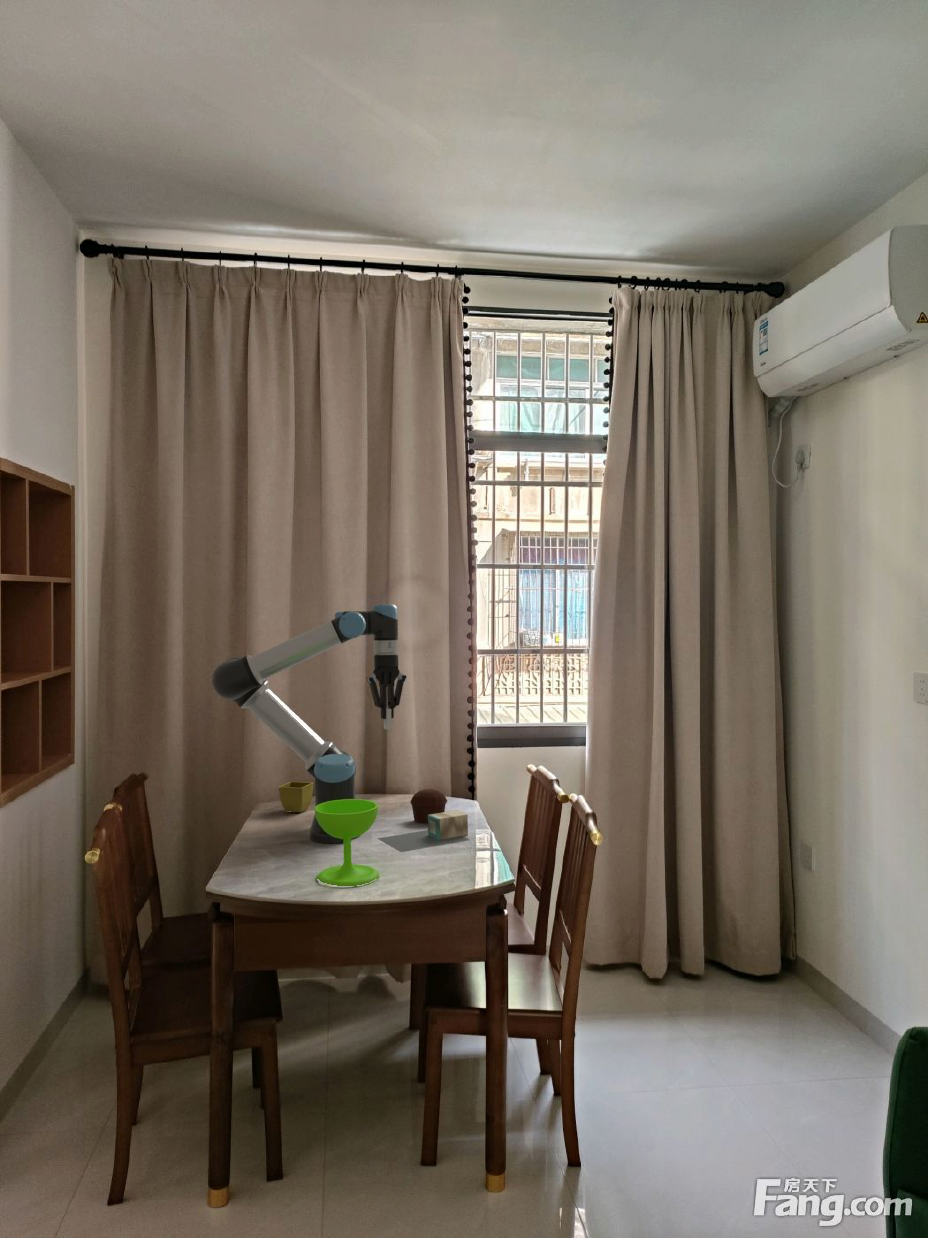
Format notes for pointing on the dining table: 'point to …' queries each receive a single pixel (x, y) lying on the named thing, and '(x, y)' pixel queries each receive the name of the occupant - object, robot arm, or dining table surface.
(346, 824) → the wineglass
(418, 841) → the slate mat
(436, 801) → the muffin
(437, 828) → the maple block
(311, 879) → the dining table surface
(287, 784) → the flower pot
